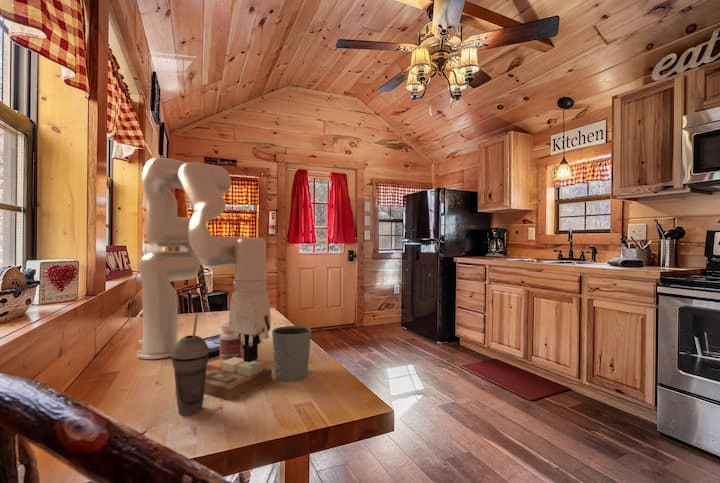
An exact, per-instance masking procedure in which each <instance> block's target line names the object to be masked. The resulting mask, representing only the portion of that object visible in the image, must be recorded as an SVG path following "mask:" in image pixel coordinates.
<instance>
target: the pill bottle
mask: <svg viewBox="0 0 720 483" xmlns="http://www.w3.org/2000/svg"><path fill="white" fill-rule="evenodd" d="M233 357H236V358H241V359H243V345H242V343H241V339H240V338H239V336H236V335H234V333H233V332H232V331H230V329H229V321H228V322H224V323H221V333H220V335H219V359H221V358H222V359H226V360H228V359H230V358H233Z"/></svg>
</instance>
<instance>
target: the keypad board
mask: <svg viewBox="0 0 720 483" xmlns="http://www.w3.org/2000/svg"><path fill="white" fill-rule="evenodd" d="M221 359H222V358H221ZM222 360H226V359H222ZM272 374H273V371H272V369H271V368H267V367H263V371H262V372H260V373H258V374H256V375H253V376H251V377H249V376H245V375H240V374H237V372H235V373H232V372H228V371H224V370H221V368H220V369H218V370H217V369H213V368H209V367H206V376H205V387H204V395H205V394H206V395H209V396H211V397H216V398H220V399H222V400H226V401H231V400H233V399H235V398H237V397H239V396H241V395H243V394H245V393H248V392H249V391H251V390H254V389H255V388H257V387H259V386H262V385H264V384H266V383H267V382H270V381H271V380H272V378H273V377H272V376H273V375H272Z"/></svg>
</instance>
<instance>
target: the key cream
mask: <svg viewBox="0 0 720 483" xmlns="http://www.w3.org/2000/svg"><path fill="white" fill-rule="evenodd" d="M244 362H245V361H244V358H242V359H241V358H236V357H233V358H230V359H228V360H225V361H222V362H221V370H224V371H228V372H232V373H235V372H237V365H239V364H242V363H244Z"/></svg>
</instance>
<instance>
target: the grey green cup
mask: <svg viewBox="0 0 720 483" xmlns="http://www.w3.org/2000/svg"><path fill="white" fill-rule="evenodd" d="M312 331H313V330H312V329H311V328H310V327H307V326H301V325H287V326H286V325H285V326H279V327H275V328H273V329H272V331H271V333H272V335H271V336H272V345H273V346H272V347H273V348H272V349H273V362H274V365H273V366H274V368H273V370H274V378H275V379H276V380H278V381H281V382H297V381H301V380H304V379H305V378H306V377H308V374H309V373H308V372H309V371H308V370H309V357H310V349H311V348H310V347H311V339H312Z"/></svg>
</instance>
